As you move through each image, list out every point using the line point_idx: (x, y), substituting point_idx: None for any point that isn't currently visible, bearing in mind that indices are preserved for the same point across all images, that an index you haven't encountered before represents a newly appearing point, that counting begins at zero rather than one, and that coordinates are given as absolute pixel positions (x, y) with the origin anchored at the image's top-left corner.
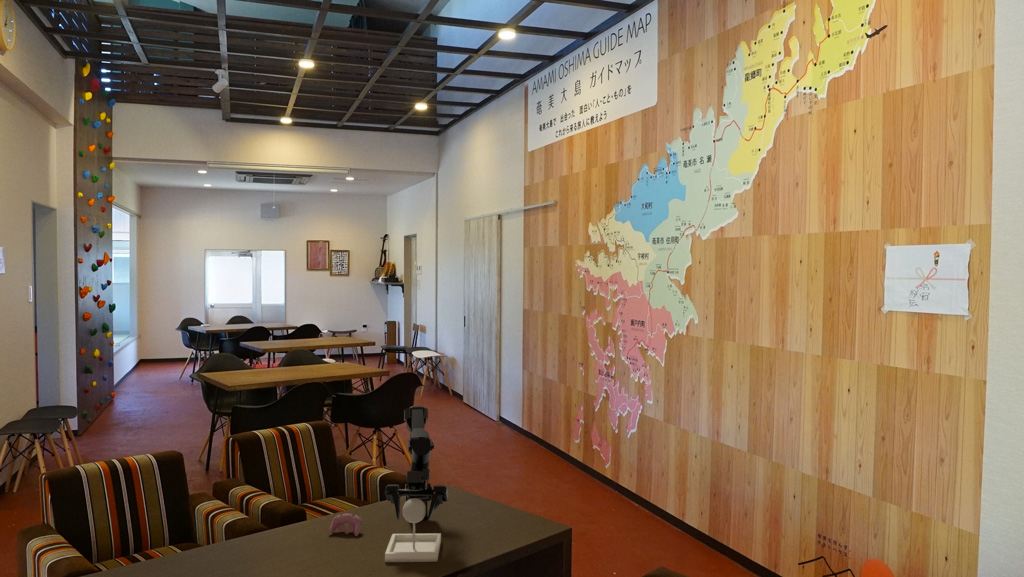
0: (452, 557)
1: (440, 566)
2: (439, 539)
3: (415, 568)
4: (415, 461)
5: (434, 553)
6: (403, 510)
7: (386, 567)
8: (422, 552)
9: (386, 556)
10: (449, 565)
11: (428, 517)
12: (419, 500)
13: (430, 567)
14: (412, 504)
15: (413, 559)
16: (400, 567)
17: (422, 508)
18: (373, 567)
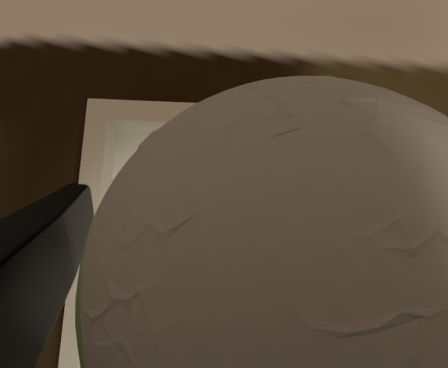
0: (14, 169)
1: (86, 64)
2: (64, 326)
3: (213, 51)
4: None
5: (105, 100)
6: None
7: (359, 71)
8: (178, 113)
9: None
10: (39, 72)
11: (77, 186)
12: (197, 269)
13: (138, 56)
14: (364, 93)
15: None
16: (289, 67)
17: (135, 155)
18: (423, 76)
